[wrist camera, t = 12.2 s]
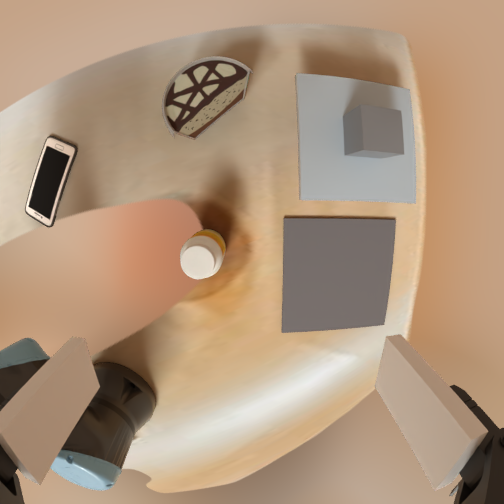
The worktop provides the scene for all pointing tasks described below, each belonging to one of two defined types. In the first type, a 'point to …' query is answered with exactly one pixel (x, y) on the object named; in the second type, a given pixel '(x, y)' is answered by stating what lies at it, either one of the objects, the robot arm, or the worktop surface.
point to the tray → (336, 273)
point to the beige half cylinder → (203, 94)
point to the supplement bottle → (202, 254)
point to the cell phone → (50, 180)
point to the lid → (354, 140)
